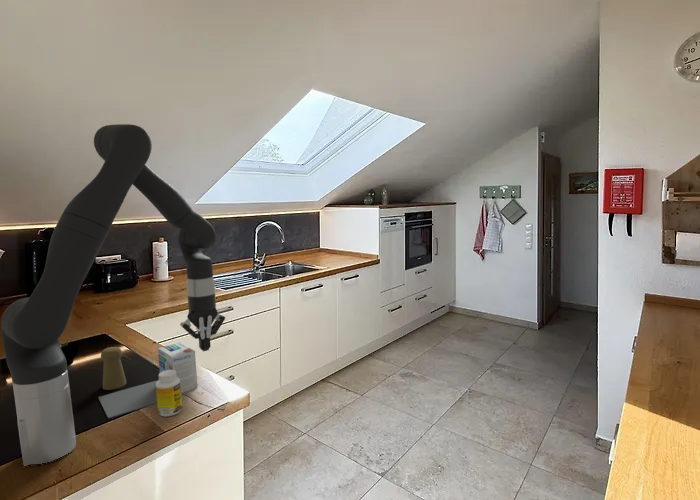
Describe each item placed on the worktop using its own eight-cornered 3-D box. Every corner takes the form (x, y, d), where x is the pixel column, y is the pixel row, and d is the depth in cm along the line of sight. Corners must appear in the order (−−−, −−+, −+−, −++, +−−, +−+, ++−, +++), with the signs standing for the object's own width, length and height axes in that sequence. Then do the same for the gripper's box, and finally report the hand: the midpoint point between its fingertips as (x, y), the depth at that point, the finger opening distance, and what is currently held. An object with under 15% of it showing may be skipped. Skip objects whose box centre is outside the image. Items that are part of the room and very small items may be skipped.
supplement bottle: (177, 417, 102) (174, 377, 100) (154, 418, 101) (150, 378, 100) (185, 405, 107) (182, 367, 106) (163, 406, 107) (160, 368, 106)
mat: (108, 418, 102) (108, 417, 102) (98, 398, 112) (98, 397, 112) (172, 398, 111) (172, 397, 111) (157, 381, 122) (157, 380, 122)
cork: (99, 391, 116) (95, 353, 115) (105, 382, 122) (101, 346, 121) (123, 387, 118) (120, 350, 117) (128, 379, 124) (125, 343, 122)
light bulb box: (159, 383, 120) (156, 347, 119) (183, 376, 125) (180, 341, 124) (174, 395, 113) (171, 357, 111) (198, 387, 118) (196, 350, 116)
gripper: (182, 298, 114) (186, 359, 116) (228, 291, 122) (231, 348, 124) (173, 294, 119) (178, 352, 122) (218, 287, 128) (221, 341, 130)
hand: (205, 350), depth 123 cm, fingers closed
